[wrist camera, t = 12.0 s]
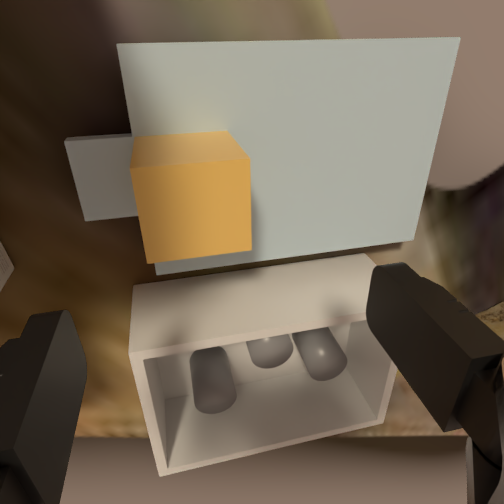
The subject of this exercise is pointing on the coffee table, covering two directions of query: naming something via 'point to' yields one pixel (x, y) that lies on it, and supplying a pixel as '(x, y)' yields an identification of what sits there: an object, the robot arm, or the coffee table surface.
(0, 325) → the coffee table surface
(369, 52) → the lid
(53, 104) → the coffee table surface
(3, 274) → the supplement box
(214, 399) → the tub
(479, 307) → the coffee table surface
